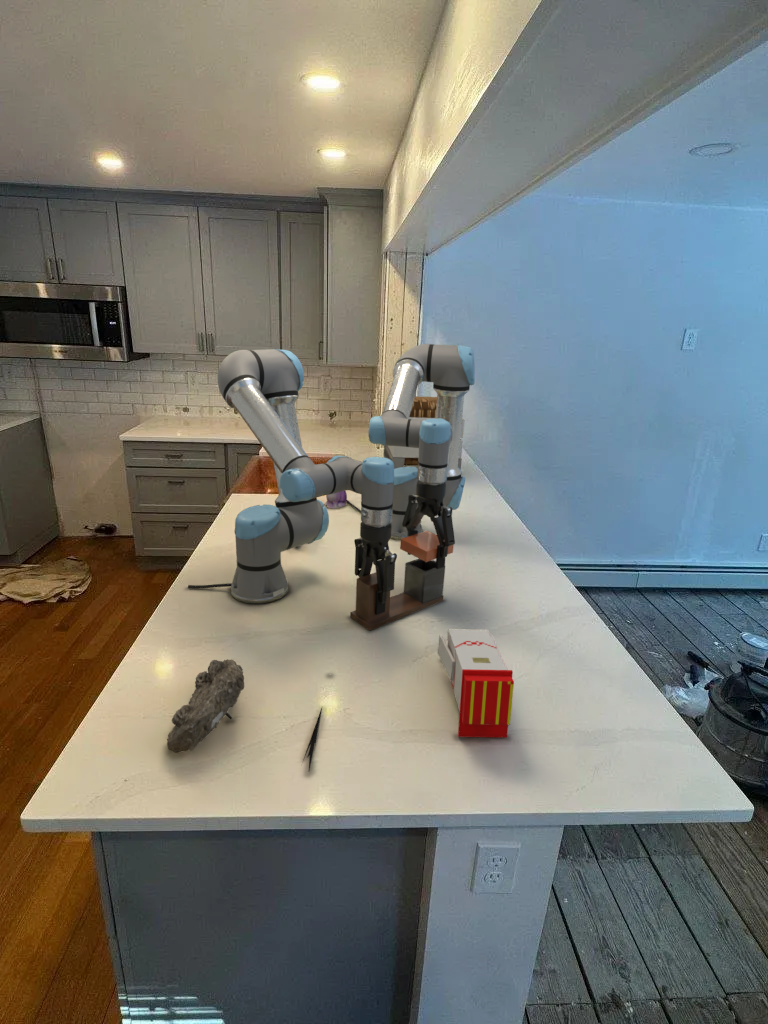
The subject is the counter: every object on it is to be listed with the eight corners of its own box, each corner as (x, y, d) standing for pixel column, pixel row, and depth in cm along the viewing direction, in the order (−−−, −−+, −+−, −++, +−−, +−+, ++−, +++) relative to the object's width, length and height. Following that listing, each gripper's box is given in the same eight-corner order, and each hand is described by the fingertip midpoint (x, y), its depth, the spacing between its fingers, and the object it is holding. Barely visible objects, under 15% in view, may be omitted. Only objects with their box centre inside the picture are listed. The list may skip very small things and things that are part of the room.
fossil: (192, 660, 117) (244, 628, 112) (224, 691, 120) (276, 661, 115) (142, 746, 98) (202, 712, 93) (182, 779, 101) (242, 748, 96)
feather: (331, 679, 122) (336, 673, 122) (307, 777, 96) (313, 769, 95) (324, 675, 122) (329, 669, 121) (298, 772, 95) (304, 764, 95)
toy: (488, 613, 130) (523, 677, 101) (484, 667, 133) (517, 744, 104) (435, 612, 130) (455, 676, 101) (432, 666, 133) (451, 743, 103)
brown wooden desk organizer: (350, 617, 145) (351, 576, 141) (422, 589, 161) (425, 552, 157) (370, 630, 139) (371, 589, 135) (443, 600, 155) (446, 562, 152)
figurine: (329, 510, 219) (330, 473, 214) (320, 502, 228) (320, 466, 222) (352, 507, 223) (353, 470, 218) (341, 499, 232) (342, 464, 227)
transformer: (382, 463, 289) (386, 382, 275) (445, 464, 293) (451, 384, 279) (390, 482, 257) (394, 392, 243) (460, 483, 261) (468, 394, 247)
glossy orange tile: (399, 553, 152) (400, 538, 150) (426, 544, 158) (427, 530, 157) (425, 566, 145) (427, 551, 143) (452, 556, 151) (453, 542, 150)
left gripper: (341, 514, 140) (339, 598, 147) (389, 537, 127) (384, 628, 135) (364, 508, 144) (362, 590, 152) (413, 530, 132) (407, 618, 139)
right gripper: (391, 472, 150) (387, 549, 158) (454, 495, 134) (446, 579, 142) (411, 468, 155) (407, 543, 162) (475, 490, 139) (466, 571, 146)
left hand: (372, 607), depth 143 cm, fingers closed on brown wooden desk organizer, 5 cm apart
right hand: (425, 560), depth 152 cm, fingers closed on glossy orange tile, 10 cm apart
